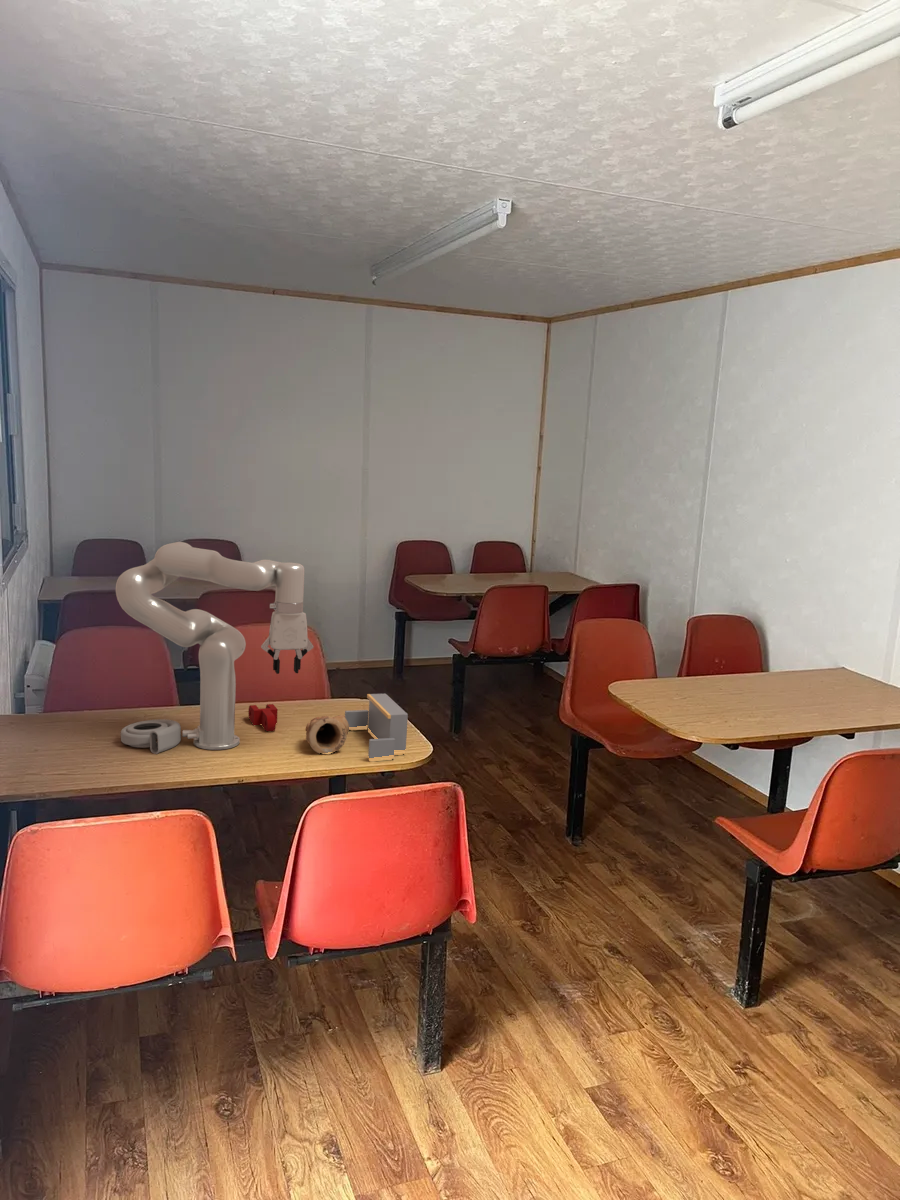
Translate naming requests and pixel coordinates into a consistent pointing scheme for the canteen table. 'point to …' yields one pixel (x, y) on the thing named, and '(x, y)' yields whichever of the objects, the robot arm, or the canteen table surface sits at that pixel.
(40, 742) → the canteen table surface
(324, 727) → the clay pipe
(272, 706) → the mechanical linkage
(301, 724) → the canteen table surface
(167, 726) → the turbocharger housing
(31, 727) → the canteen table surface
